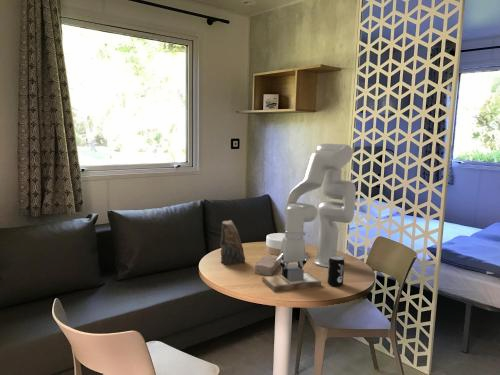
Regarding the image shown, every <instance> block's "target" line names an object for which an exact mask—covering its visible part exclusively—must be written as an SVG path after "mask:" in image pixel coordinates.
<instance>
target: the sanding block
mask: <svg viewBox="0 0 500 375" xmlns="http://www.w3.org/2000/svg"><path fill="white" fill-rule="evenodd" d="M280 268H281V269H280V275H281V277H283V275H282V267H281V266H280ZM287 269H288V273H287V278H285V277H283V278H284V279H285V280H287V281H288V282H289V283H298V282H303V276H304V273H305V270H304V269H303V268H302V269H301V268H299V267H298V265H296V264H295V263H289V264H288V266H287Z"/></svg>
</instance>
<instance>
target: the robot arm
mask: <svg viewBox="0 0 500 375" xmlns="http://www.w3.org/2000/svg"><path fill="white" fill-rule="evenodd" d="M353 153H354V152H353V148H352V147H351V146H350V145H349V144H343V143H342V144H341V143H321V144H319V145H317V146H316V149H315V151H313V152H312V154H310V158H309V160H308V164H307V167H306V171H305V173H304V177H303V179H302V181H300V182H299V183H297V184H296V185H295V187H293V188H292V190H291V191H290V192H289V194H288V195H287V199H286V202H285V204H284V205H285V206H284V210H283V211H284V212H283V213H284V216H285V225H284V227H285V228H284V229H285V231H284V234H285V238H283V240H282V244H281V251H280V256H278V258H277V259H276V262H277V263H278V264H279V265H278V266H280V268H281V267H282V275H283V277H285V278H287V273H288V269H287V266H288V264H292V263H297V266H298V267H299V268H301V269H302V270H303V268H304V266H305V265H306V264H307V262H308V261H309V260H310V257H309V256H308V254H307V253H306V243H305V238H304V236H306V232H305V231H304V227H305V226H304V224H305V223H310V222H313V221H315V220H316V218H317V216H318V236H317V237H318V239H317V255H316V258H314V259H313V264H315V265H316V266H319V267H325V268H328V265H329V259H330V256H341V257H343V258H344V260H345V259H346V257H345V255H340V254H338V241H339V228H338V225H337V223H343V224H349V223H351V222H352V221H353V220H354V217H355V209H356V208H355V206H356V195H357V190H356V185H355V183H354V182H353V181H351V180H343V179H342V169H344V167H346V165H347V164H348V163H350V162H351V160H352V158H353ZM321 187H322V195H323V197H325V198H328V199H332V200H324V201H322V202H319V205H318V207H316V206H314V205H313V204H310V203H308V204H307V203H303V202H298V200H299V199H300V197H301V196H303V195H304V194H306V193H309V192H312V191H314V190H317V189H319V188H321ZM333 200H340V201H342V202H339V201H333Z"/></svg>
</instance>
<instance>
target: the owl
mask: <svg viewBox="0 0 500 375" xmlns="http://www.w3.org/2000/svg"><path fill="white" fill-rule="evenodd" d="M220 229H221V230H220V231H221V234H220V235H219V238H220V240H219V241H220V245H219V246H220V256H221V257H220V259H221V261H220V263H221V264H222V265H224V266H225V265H228V266H232V265H239V264H240V263H241V264H245V263H246V256H245V252H244V247H243V244H242V241H241V238H240V234H239V231H238V229H237V226H235V223H234V221H232V220H231V219H229V220H223V221H221V226H220Z"/></svg>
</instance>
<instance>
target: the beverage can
mask: <svg viewBox="0 0 500 375" xmlns="http://www.w3.org/2000/svg"><path fill="white" fill-rule="evenodd" d="M341 256H342V255H340V256H330V259H329V265H328V267H327V283H328V285H329V286H330V287H336V288H337V287H342V286H343V285H344V276H345V274H344V273H345V259H344V258H343V257H341Z"/></svg>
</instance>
